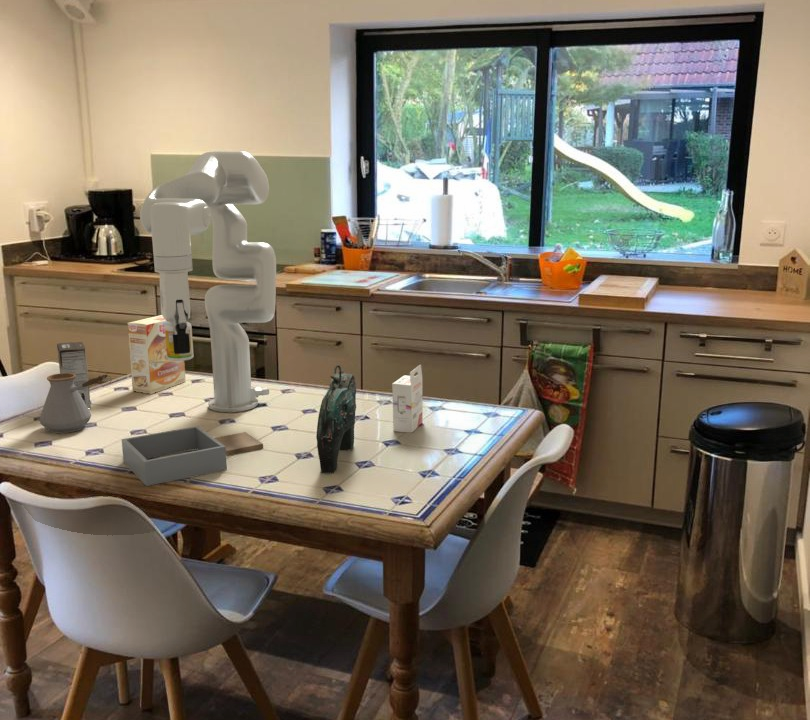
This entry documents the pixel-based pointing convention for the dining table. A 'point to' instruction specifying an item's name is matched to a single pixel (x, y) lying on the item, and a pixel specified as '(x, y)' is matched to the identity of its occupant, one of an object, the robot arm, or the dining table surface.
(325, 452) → the green animal figurine
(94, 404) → the dining table surface
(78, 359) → the coffee box
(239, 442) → the walnut board
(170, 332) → the supplement bottle
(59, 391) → the coffee pot
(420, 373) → the ink cartridge box
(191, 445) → the bin
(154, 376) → the coffeecake box
